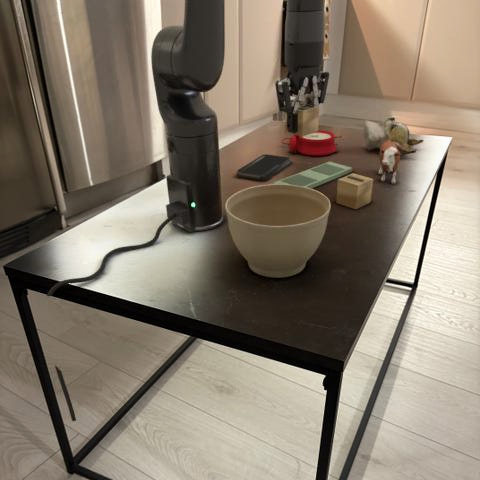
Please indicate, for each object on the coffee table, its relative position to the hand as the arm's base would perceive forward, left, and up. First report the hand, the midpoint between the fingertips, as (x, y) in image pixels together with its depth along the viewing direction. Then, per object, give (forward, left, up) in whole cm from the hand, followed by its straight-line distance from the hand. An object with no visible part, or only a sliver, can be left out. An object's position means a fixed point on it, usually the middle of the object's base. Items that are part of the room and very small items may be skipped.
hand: (301, 128), depth 106 cm
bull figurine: (+17, -12, -12) cm, 24 cm away
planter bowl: (-30, -22, -12) cm, 39 cm away
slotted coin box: (0, -15, -12) cm, 19 cm away
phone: (+2, +13, -12) cm, 18 cm away
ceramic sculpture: (+34, -1, -12) cm, 36 cm away
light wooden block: (0, 0, -1) cm, 1 cm away
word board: (+5, 0, -12) cm, 13 cm away
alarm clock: (+21, +15, -12) cm, 29 cm away
